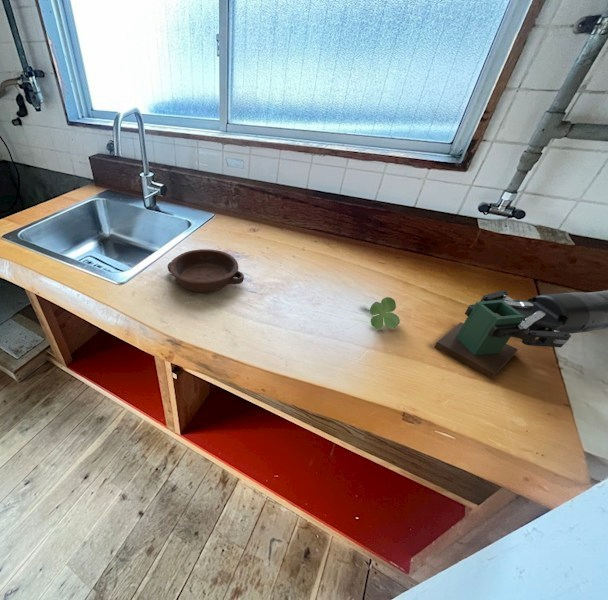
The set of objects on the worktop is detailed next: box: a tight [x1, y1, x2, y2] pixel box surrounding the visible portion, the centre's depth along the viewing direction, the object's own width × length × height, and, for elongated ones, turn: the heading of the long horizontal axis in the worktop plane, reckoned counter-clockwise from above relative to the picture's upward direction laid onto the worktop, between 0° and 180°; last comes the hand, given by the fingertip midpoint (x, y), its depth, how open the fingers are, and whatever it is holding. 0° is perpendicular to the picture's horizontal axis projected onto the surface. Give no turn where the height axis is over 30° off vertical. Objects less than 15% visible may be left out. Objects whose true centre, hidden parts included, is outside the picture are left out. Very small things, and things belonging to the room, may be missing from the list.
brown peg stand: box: [433, 313, 519, 379], centre depth 61 cm, size 10×10×9 cm
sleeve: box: [456, 300, 525, 355], centre depth 60 cm, size 5×5×9 cm
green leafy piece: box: [364, 296, 401, 330], centre depth 72 cm, size 7×8×7 cm
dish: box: [166, 248, 245, 293], centre depth 86 cm, size 18×22×5 cm
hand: (479, 321), depth 58 cm, fingers closed on sleeve, 5 cm apart
